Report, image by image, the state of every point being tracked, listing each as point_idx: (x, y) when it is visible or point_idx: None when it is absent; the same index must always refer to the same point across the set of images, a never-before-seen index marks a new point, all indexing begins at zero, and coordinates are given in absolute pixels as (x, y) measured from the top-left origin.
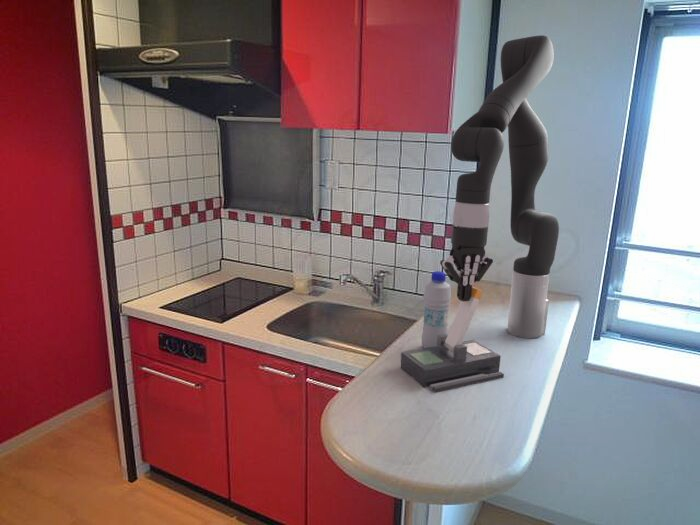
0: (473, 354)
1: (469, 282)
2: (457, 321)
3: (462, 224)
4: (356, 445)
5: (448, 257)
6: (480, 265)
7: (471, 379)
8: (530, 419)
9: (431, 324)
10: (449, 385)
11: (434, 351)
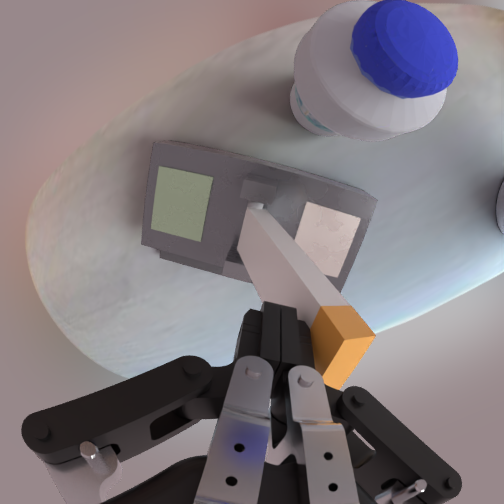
0: None
1: (268, 414)
2: (265, 258)
3: None
4: (38, 275)
5: (63, 496)
6: (387, 478)
7: None
8: None
9: (298, 105)
10: (189, 265)
11: (226, 186)
